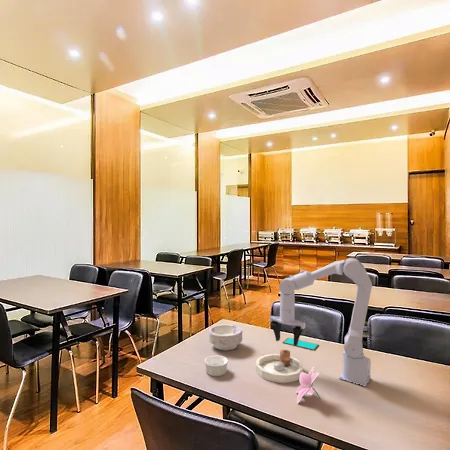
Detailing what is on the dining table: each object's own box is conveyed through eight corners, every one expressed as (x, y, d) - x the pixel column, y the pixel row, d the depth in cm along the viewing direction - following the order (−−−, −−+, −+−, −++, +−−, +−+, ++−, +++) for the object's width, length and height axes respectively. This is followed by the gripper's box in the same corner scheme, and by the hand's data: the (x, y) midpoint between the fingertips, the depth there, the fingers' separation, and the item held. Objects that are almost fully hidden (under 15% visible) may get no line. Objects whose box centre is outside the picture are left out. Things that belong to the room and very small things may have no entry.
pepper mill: (291, 363, 127) (291, 351, 127) (287, 367, 124) (287, 354, 124) (282, 361, 129) (282, 348, 129) (278, 364, 126) (278, 351, 126)
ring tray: (309, 369, 124) (309, 362, 124) (290, 388, 110) (290, 380, 110) (269, 356, 135) (269, 350, 135) (247, 372, 121) (247, 365, 121)
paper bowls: (203, 343, 149) (204, 326, 149) (233, 338, 155) (233, 322, 155) (216, 356, 135) (217, 337, 135) (248, 350, 142) (248, 332, 141)
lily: (302, 387, 113) (290, 365, 112) (334, 383, 107) (321, 359, 106) (295, 415, 103) (282, 391, 102) (330, 413, 97) (316, 387, 96)
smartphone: (288, 337, 156) (318, 344, 148) (288, 339, 156) (318, 346, 148) (282, 342, 150) (314, 349, 142) (282, 344, 150) (314, 351, 142)
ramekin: (225, 378, 117) (225, 366, 116) (201, 375, 118) (201, 364, 118) (229, 367, 125) (229, 356, 125) (207, 365, 127) (207, 354, 127)
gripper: (308, 309, 125) (308, 344, 126) (275, 303, 134) (274, 335, 134) (301, 314, 120) (300, 349, 120) (267, 307, 128) (266, 340, 128)
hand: (286, 342), depth 127 cm, fingers open, 7 cm apart
